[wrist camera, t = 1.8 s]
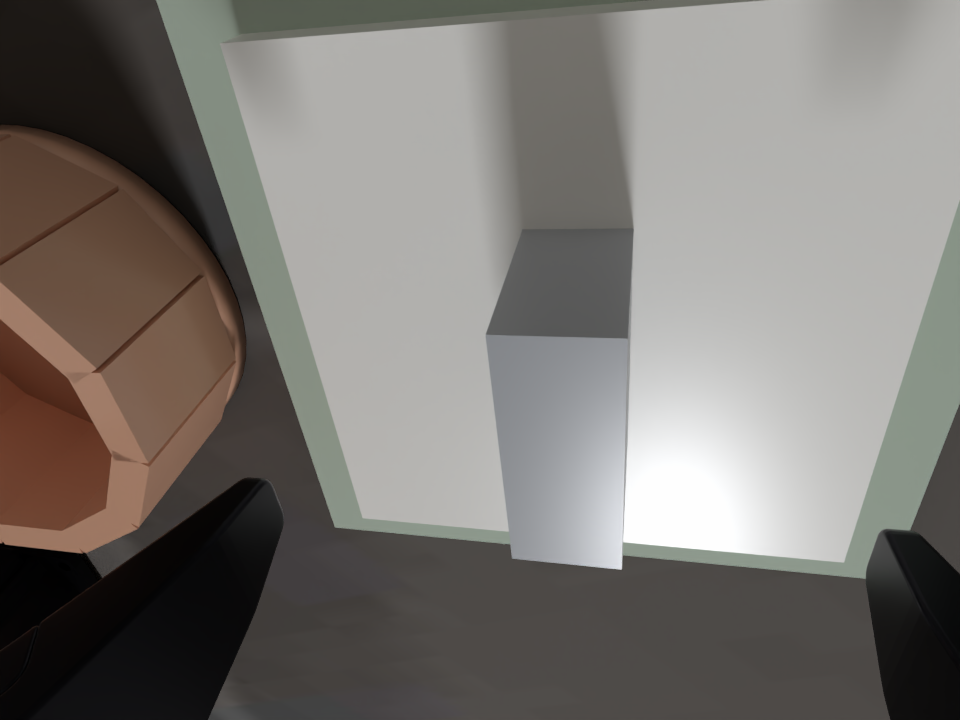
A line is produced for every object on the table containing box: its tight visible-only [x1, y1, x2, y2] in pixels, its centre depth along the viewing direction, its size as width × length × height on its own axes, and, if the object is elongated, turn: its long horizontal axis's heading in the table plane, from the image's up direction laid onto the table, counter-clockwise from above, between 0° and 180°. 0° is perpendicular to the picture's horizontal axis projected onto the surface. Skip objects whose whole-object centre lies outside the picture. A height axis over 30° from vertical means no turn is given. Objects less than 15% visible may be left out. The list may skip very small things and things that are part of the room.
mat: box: [156, 0, 960, 579], centre depth 15 cm, size 15×15×1 cm
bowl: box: [0, 125, 246, 554], centre depth 16 cm, size 9×9×4 cm
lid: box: [220, 0, 960, 570], centre depth 13 cm, size 12×12×4 cm
